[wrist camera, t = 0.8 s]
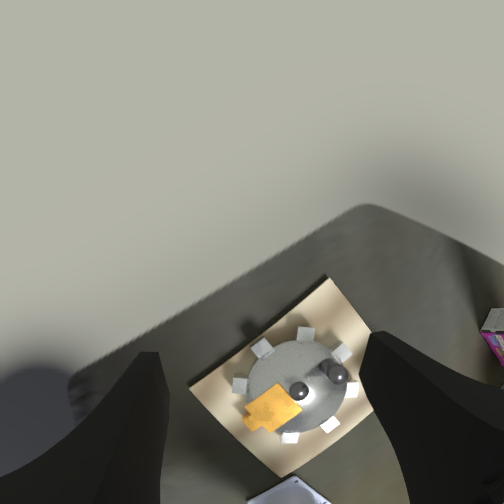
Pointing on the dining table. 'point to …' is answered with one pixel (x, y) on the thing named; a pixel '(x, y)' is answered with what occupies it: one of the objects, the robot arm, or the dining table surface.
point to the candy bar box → (495, 332)
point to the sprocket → (295, 385)
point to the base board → (304, 314)
